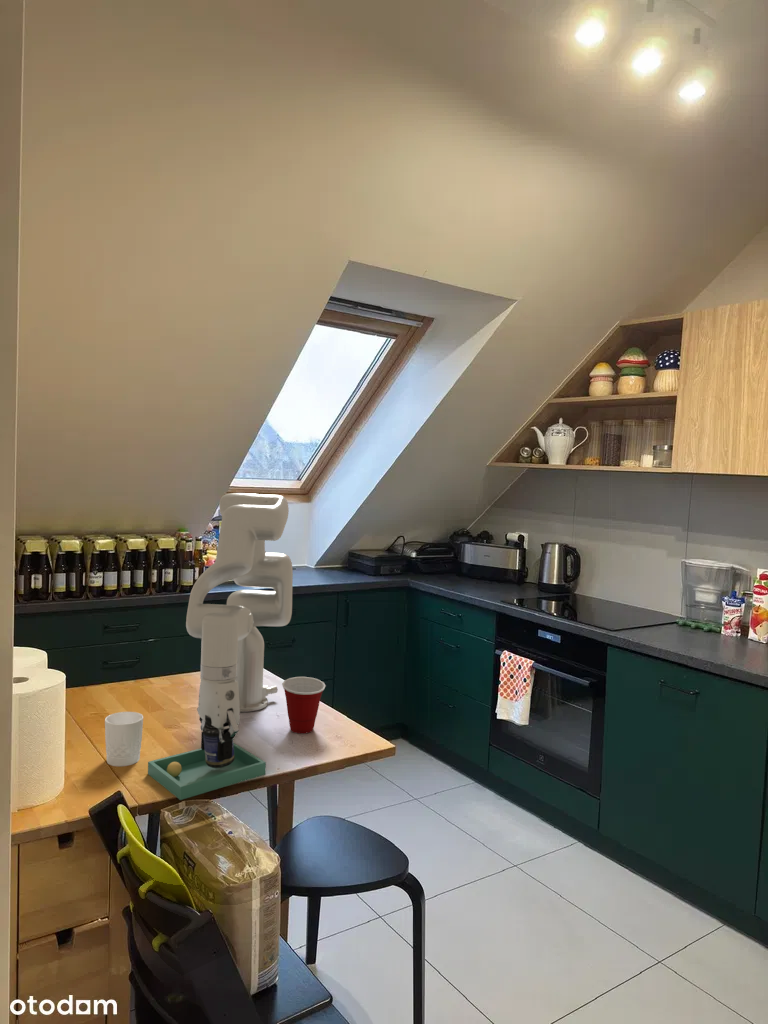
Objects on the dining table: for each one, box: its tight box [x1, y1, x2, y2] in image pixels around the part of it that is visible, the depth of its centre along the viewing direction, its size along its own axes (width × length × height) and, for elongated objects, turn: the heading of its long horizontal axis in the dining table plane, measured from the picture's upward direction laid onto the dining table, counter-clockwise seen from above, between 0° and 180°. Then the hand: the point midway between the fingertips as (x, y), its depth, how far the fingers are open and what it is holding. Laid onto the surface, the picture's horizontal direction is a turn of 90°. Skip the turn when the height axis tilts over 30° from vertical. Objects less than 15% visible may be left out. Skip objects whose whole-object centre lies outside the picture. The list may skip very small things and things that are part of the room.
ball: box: [167, 762, 182, 777], centre depth 152 cm, size 3×3×3 cm
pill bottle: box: [202, 715, 235, 768], centre depth 156 cm, size 6×6×11 cm
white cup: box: [104, 711, 144, 767], centre depth 159 cm, size 8×8×10 cm
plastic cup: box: [281, 676, 326, 735], centre depth 183 cm, size 11×11×12 cm
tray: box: [147, 742, 267, 801], centre depth 154 cm, size 20×15×3 cm
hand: (216, 752), depth 156 cm, fingers closed on pill bottle, 6 cm apart
